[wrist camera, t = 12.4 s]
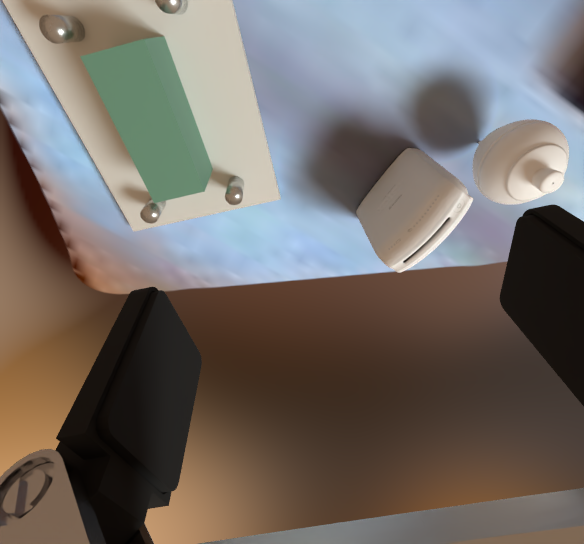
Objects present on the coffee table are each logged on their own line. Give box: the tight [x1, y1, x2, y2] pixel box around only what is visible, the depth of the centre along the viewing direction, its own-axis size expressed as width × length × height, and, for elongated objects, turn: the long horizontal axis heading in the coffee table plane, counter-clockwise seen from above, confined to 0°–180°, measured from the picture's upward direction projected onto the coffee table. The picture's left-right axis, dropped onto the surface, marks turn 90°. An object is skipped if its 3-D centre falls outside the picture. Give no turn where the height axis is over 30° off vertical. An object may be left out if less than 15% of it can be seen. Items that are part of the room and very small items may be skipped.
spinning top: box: [473, 120, 569, 205], centre depth 32 cm, size 8×8×12 cm
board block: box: [80, 36, 213, 203], centre depth 30 cm, size 5×12×6 cm, turn 12°
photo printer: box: [356, 148, 473, 272], centre depth 35 cm, size 10×4×12 cm, turn 147°
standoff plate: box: [2, 0, 281, 231], centre depth 32 cm, size 18×22×5 cm
